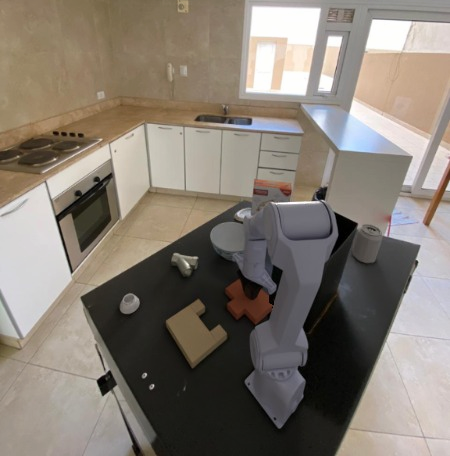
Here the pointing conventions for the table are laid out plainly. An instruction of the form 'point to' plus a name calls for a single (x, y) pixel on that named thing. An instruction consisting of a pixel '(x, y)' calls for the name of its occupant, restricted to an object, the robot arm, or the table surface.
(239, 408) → the table surface
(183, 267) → the pipe fitting
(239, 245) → the chinaware
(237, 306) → the terracotta pad
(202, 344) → the sand pad
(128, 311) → the white jar
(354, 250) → the can
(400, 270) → the table surface
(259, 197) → the cracker box
